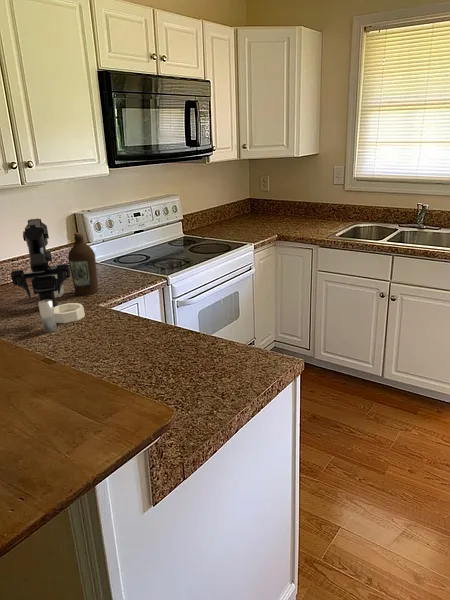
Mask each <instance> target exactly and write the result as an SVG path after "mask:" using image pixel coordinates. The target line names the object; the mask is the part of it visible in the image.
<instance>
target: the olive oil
mask: <svg viewBox="0 0 450 600" xmlns="http://www.w3.org/2000/svg"><path fill="white" fill-rule="evenodd" d="M73 235H74V244H73V246H72V247H71V248H70V250H69V251H68V256H67V259H68V263H69V264H68V265H69V270H70V274H71V277H72V283H73V287H74V293H75V295H77V296H89V295H93V294H97V293H98V292H99V284H98V273H97V261H96V255H95V252H94V250H93V248H92V247H90V246H89V245H88V244H87V243H86V242H85V239H84V236H83V232H74V234H73Z"/></svg>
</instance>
